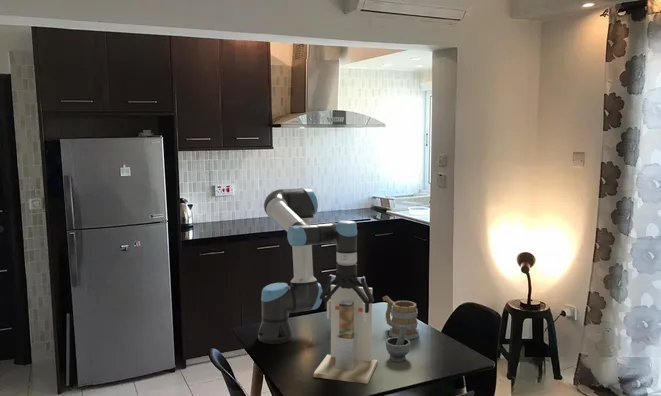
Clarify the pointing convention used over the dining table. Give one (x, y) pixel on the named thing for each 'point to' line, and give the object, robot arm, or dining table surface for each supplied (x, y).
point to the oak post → (346, 319)
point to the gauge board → (359, 326)
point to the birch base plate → (359, 373)
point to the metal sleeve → (346, 352)
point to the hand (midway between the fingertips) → (346, 319)
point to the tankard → (402, 317)
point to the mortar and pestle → (398, 346)
